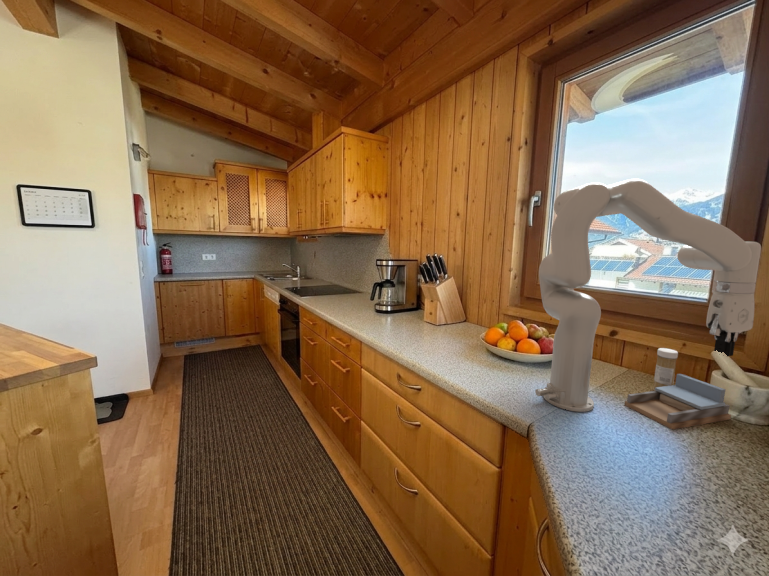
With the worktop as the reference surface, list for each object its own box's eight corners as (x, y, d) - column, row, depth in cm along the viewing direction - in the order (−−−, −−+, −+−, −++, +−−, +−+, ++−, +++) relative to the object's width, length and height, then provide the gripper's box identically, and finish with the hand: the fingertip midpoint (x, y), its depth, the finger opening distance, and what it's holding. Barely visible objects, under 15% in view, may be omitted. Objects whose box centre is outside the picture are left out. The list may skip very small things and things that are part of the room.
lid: (700, 409, 78) (703, 393, 78) (654, 390, 89) (656, 375, 88) (724, 405, 80) (727, 390, 80) (677, 387, 91) (679, 373, 90)
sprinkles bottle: (674, 393, 95) (680, 350, 93) (669, 397, 92) (675, 353, 90) (655, 387, 98) (660, 346, 96) (649, 390, 96) (655, 349, 94)
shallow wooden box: (672, 429, 76) (674, 416, 75) (624, 404, 87) (625, 393, 87) (730, 419, 81) (732, 406, 80) (677, 397, 92) (679, 386, 92)
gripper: (731, 291, 77) (721, 362, 80) (772, 288, 81) (761, 356, 83) (695, 287, 84) (686, 352, 87) (734, 285, 88) (725, 347, 90)
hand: (723, 354), depth 85 cm, fingers closed
